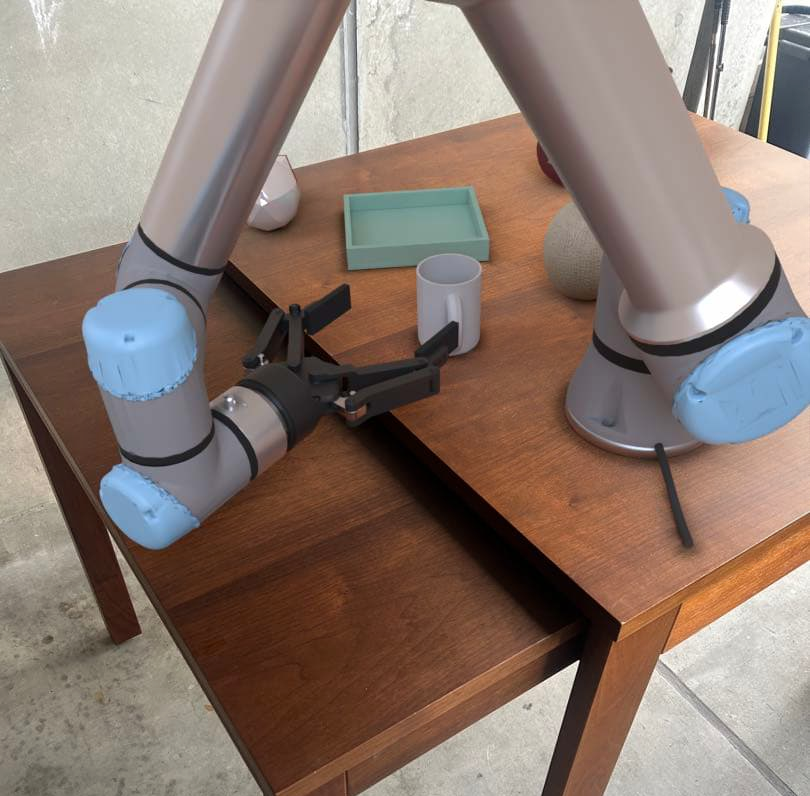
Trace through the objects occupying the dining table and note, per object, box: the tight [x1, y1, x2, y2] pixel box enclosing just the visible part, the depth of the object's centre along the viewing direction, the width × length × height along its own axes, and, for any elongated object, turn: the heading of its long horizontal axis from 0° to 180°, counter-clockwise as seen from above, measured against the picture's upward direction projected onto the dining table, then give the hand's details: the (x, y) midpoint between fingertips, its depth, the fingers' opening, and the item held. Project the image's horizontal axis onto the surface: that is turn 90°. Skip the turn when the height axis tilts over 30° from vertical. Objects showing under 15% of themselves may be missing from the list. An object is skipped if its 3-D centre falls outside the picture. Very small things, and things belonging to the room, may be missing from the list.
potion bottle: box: [246, 154, 302, 232], centre depth 122 cm, size 9×10×15 cm
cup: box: [415, 254, 483, 357], centre depth 97 cm, size 7×10×9 cm
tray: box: [342, 185, 491, 271], centre depth 118 cm, size 17×19×3 cm
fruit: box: [542, 160, 603, 301], centre depth 102 cm, size 10×12×15 cm
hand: (400, 313), depth 88 cm, fingers open, 13 cm apart
